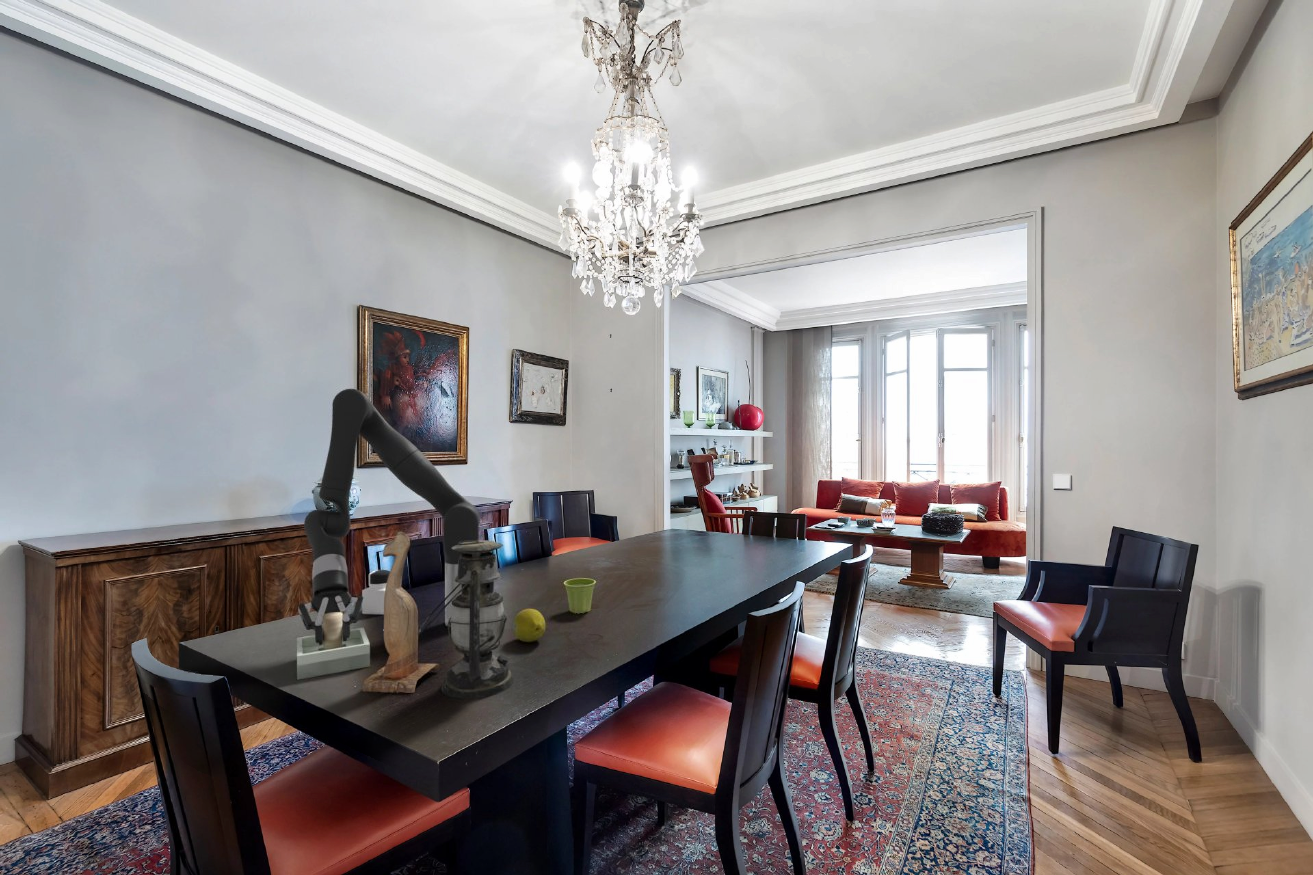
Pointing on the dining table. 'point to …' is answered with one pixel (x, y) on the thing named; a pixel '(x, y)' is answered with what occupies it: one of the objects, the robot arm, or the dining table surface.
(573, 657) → the dining table surface
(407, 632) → the bird sculpture
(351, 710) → the dining table surface
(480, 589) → the lantern
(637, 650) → the dining table surface
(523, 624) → the lemon
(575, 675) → the dining table surface
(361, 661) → the socket box
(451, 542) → the robot arm
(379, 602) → the medicine bottle
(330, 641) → the peg
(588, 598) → the plant pot
